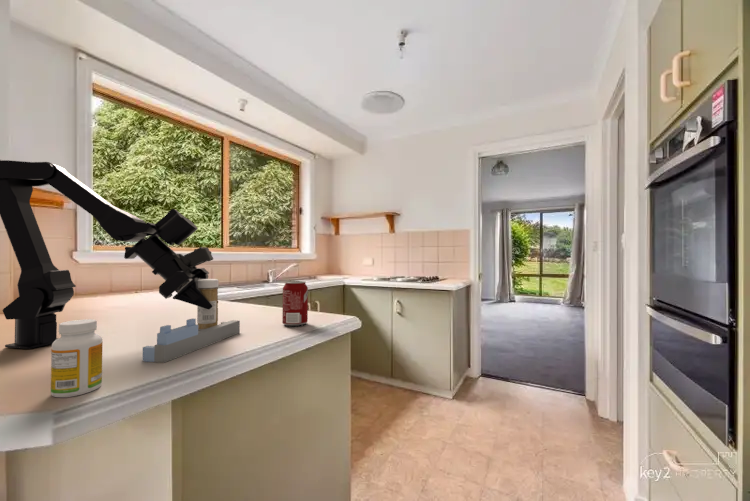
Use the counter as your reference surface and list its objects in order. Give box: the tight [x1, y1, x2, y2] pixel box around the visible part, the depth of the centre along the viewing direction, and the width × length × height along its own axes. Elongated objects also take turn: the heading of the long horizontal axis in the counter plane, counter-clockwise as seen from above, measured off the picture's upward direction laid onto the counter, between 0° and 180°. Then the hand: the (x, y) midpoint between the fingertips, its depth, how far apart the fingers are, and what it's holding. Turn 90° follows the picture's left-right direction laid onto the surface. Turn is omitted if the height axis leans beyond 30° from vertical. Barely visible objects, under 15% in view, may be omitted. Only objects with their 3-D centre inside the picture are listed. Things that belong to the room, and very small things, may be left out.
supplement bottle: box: [50, 318, 103, 398], centre depth 46 cm, size 5×5×10 cm
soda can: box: [281, 280, 309, 327], centre depth 91 cm, size 7×7×12 cm
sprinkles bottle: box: [196, 278, 220, 330], centre depth 78 cm, size 5×5×14 cm
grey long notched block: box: [141, 318, 241, 364], centre depth 70 cm, size 4×23×6 cm, turn 170°
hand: (214, 305), depth 78 cm, fingers open, 6 cm apart
